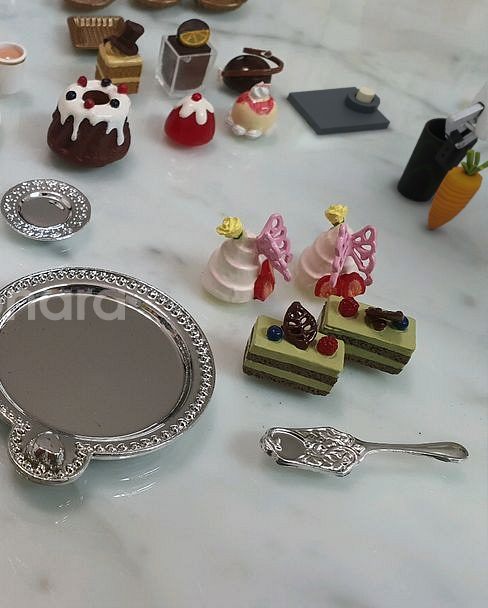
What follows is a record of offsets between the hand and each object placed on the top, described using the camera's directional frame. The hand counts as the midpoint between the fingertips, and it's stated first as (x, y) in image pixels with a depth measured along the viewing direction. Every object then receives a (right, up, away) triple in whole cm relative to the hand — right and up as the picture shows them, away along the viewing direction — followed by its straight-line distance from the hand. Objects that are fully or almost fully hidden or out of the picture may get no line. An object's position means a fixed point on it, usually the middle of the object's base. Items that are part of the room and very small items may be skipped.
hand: (471, 162), depth 111 cm
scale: (-4, +15, +31) cm, 35 cm away
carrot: (0, -9, +10) cm, 13 cm away
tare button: (0, +17, +30) cm, 35 cm away
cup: (+1, -2, +16) cm, 16 cm away
